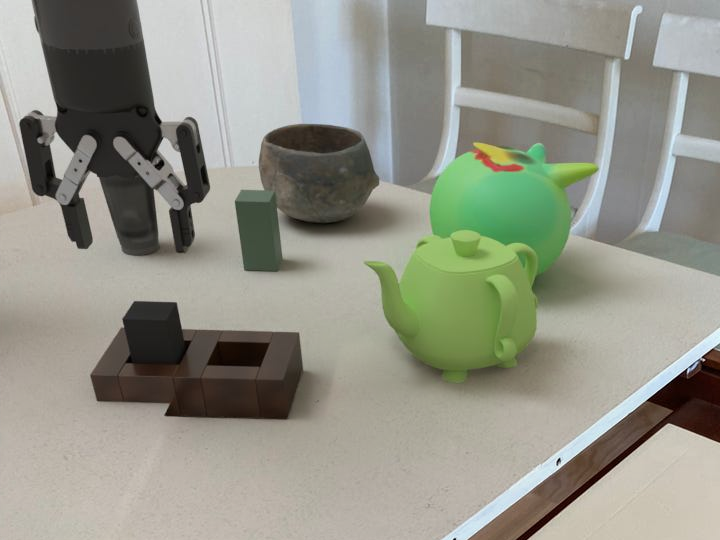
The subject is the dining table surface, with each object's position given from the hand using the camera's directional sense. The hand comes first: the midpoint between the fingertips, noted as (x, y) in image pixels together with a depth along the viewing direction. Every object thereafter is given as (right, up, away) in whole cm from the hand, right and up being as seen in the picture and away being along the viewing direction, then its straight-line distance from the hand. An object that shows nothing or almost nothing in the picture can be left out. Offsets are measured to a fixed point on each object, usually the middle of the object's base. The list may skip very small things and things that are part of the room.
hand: (134, 248), depth 85 cm
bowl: (+9, +23, +46) cm, 52 cm away
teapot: (+28, -5, +16) cm, 32 cm away
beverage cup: (-12, +14, +36) cm, 40 cm away
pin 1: (0, -10, +9) cm, 14 cm away
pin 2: (+4, +11, +33) cm, 35 cm away
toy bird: (+33, +10, +33) cm, 47 cm away
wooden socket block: (+4, -10, +9) cm, 14 cm away
